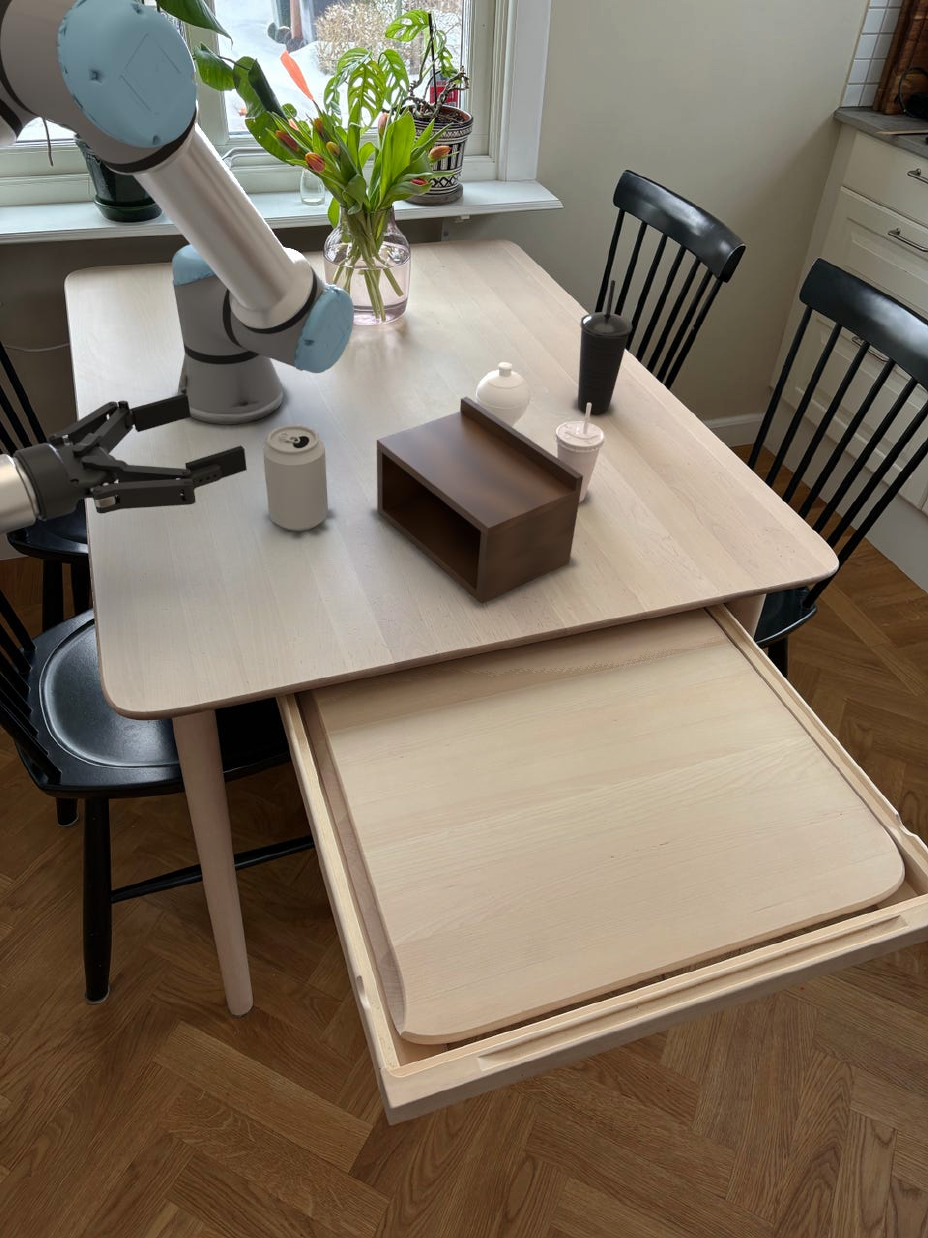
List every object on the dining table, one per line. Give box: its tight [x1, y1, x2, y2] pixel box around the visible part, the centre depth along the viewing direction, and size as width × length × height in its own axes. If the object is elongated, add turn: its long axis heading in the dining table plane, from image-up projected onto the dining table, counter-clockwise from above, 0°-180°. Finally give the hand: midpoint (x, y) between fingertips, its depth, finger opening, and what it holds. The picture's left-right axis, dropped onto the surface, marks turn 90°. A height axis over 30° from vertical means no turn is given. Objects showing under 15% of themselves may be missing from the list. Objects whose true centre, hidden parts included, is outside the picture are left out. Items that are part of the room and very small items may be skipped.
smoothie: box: [554, 403, 605, 503], centre depth 126 cm, size 6×6×14 cm
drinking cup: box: [577, 279, 633, 416], centre depth 143 cm, size 8×8×20 cm
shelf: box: [376, 396, 583, 604], centre depth 118 cm, size 14×22×13 cm, turn 38°
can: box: [262, 424, 329, 532], centre depth 120 cm, size 8×8×12 cm
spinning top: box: [475, 361, 531, 428], centre depth 137 cm, size 8×8×12 cm
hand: (215, 430), depth 109 cm, fingers open, 13 cm apart
